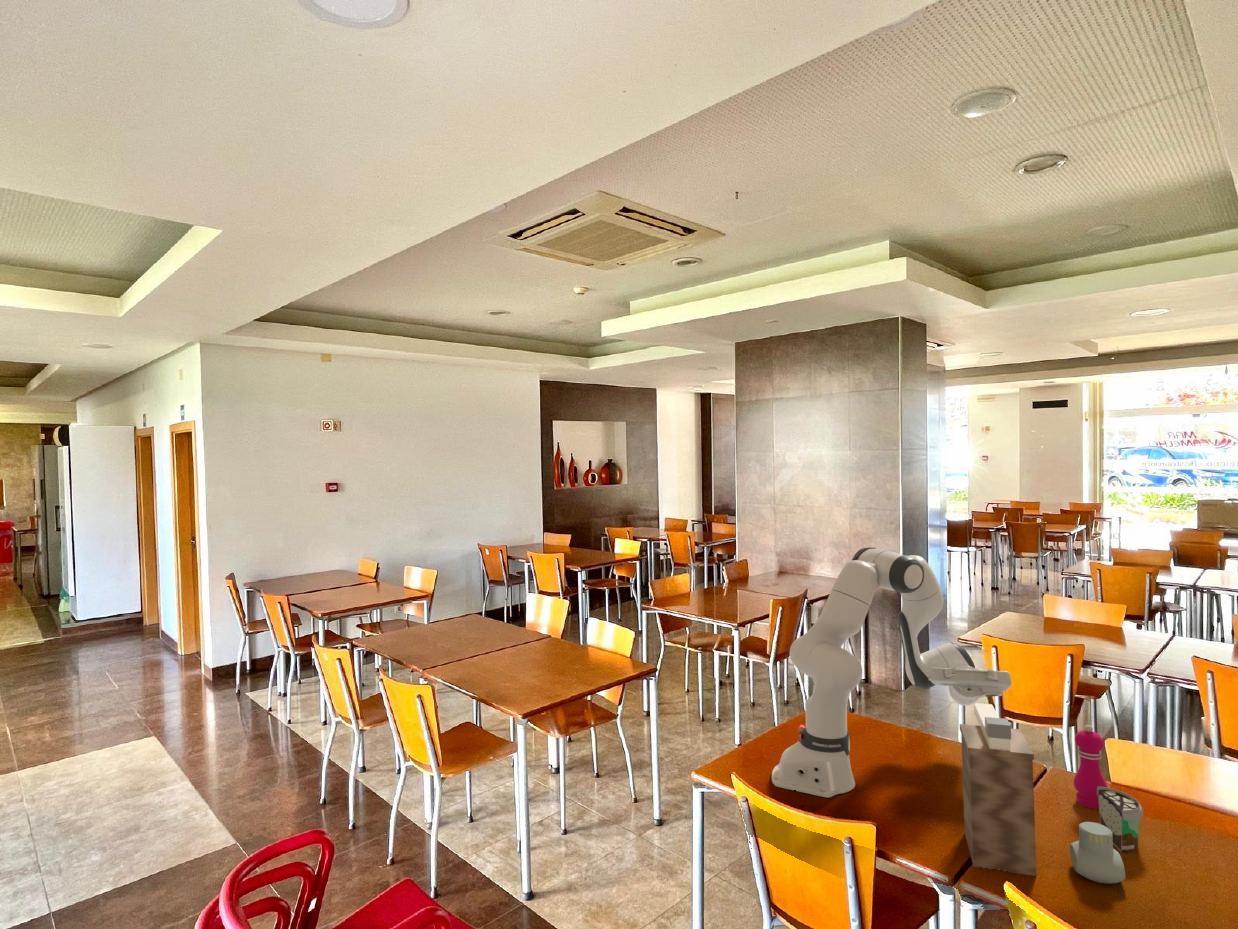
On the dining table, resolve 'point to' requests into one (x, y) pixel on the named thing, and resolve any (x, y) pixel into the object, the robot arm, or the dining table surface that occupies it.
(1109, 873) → the air freshener
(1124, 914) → the dining table surface
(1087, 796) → the pepper mill
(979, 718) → the cream rectangular block
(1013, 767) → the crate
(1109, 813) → the food container
